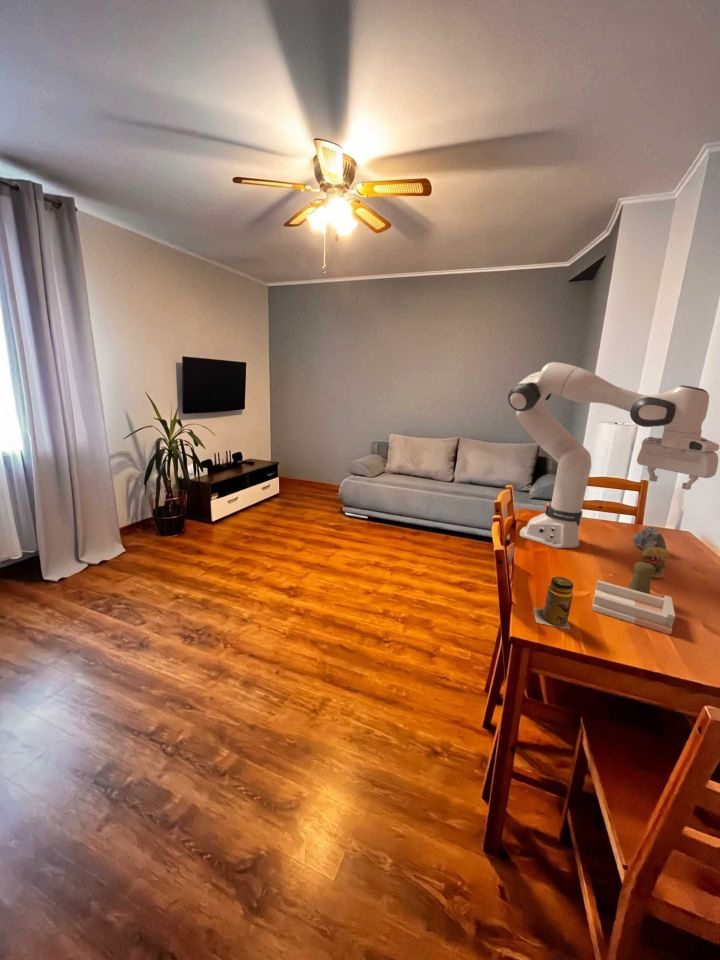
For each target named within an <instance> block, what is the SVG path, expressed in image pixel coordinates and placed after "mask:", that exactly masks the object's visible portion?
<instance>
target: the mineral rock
mask: <svg viewBox="0 0 720 960" xmlns="http://www.w3.org/2000/svg"><path fill="white" fill-rule="evenodd" d="M631 540H632V542H633V543H634V544H635V545H636V546H637V547H639V548H640V549H642V551H643V550H644V549H646V548H649V547H660V548H663V549H665V550H667V546H666V541H665V537H664V536H663V535H662V533H661V532H660V531H659V529H658V528H657V527H656V526H648V527H644V529H642V530H640V531H639V532H637V533H636V534H634V535H633V536H632V539H631ZM653 541H655V542H658V543H656V544H654V542H653Z"/></svg>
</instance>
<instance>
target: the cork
mask: <svg viewBox="0 0 720 960" xmlns="http://www.w3.org/2000/svg"><path fill="white" fill-rule="evenodd" d="M633 570H634V573H633V575H632V577H631V580H630V582H629V584H628V586H627V588H629V589H632V590H636V591H639V592H643V593H647V594H650V595H651V593H650V591H651V580H652V577H651V576H653V575H654V573H655V568H654V567H653V566H652V565H651V564H648V563H645V562H641V561H638V562H635V563H634V565H633Z"/></svg>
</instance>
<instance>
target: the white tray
mask: <svg viewBox="0 0 720 960" xmlns="http://www.w3.org/2000/svg"><path fill="white" fill-rule="evenodd" d="M592 602H593V603H592V608H591V611H593V612H596V613H599V614H602V615H606V616H609V617H612V618H616V619H618V620H621V619H622V620H621V621H625V622H629V623H631V624H634V625H638V626H641V627H644V628H648V629H651V630H653V631H656V630H657V632H659V631H660V633H662V634H667V635H669V634H670V635H669V636H671V635H672V634H673V633H672V632H673V625H674V622H675V618H676V614H675V613H676V612H675V609H674V604H673V600H672V596H670V595H664V596H663V597H661V596H656V595H654V594H651V593H650V594H647V593H643V592H639V591H636V590H632V589H629V588H628V587H625V586H621V585H616V584H614V583H611V582H606V581H603V580H599V579H597V581H596V585H595V591H594V596H593V601H592Z"/></svg>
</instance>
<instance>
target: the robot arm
mask: <svg viewBox="0 0 720 960" xmlns="http://www.w3.org/2000/svg"><path fill="white" fill-rule="evenodd" d="M552 395H555V396H558V397H560V398H563V399H566V400H568V401H573V402H578V403H585V404H586V403H587V404H588V403H589V404H591V403H592V404H593V403H594V404H595V403H597V404H605V405H609V406H612V407H614V408H618V409H620V410H623V411H627V412H629V415H630V418H631V419H630V420H631V421H632V422H633V423H635V424H636V425H638V426H639V427H643V428H653V427H663V431H662V436H661V437H653V436H648V437H645V438H644V439H643V440H642V442H641V448H640V450H639V452H638V454H637V458H636V463H637V464H638V465H640V466H645V467H647V469H646V470H647V473H648V475H649V478H648V481H649V482H655V483H656V482H658V478H659V476H658V475H656V473H655V471H656V470H657V469H659V470H665V471H669V472H674V473H679V474H682V475H683V474H684V475H688V479H689V480H688V481H687V482H683V483H682V485H681V489H683V490H687V491H689V490H691V488H692V485H693V484H694V483H695V482H696V481H697V480H699V478H701V479H702V478H703V479H707V478H708V479H710V478H712V477H714V476H715V475H716V473H717V470H718V464H719V455H718V453H717V452H718V451H719V449H720V444H718V443H717V442H714V441H713V440H709V439H707V438H705V437H703V436H702V432H703V431H702V426H703V422H704V421H705V419H706V417H707V414H708V409H709V404H710V394H709V393H708V391H707V390H705V389H703V388H700V387H696V386H689V385H678V386H676V387H675V388H672V389H670V390H667V391H665V392H661V393H658V394H653V395H644V394H640V393H637V392H634V391H631V390H629V389H626V388H622V387H619V386H617V385H614V384H613V383H610V382H609V381H607V380H605V379H604V378H602V377H600V376H598V375H597V374H595V373H593V372H591V371H590V370H586V369H585V368H582V367H579V366H576V365H573V364H568V363H563V362H556V361H551V362H548V363H547V364H545V365H544V366H543V367H542V368H541V369H538V370H535V371H534V372H533V373H531V374H529V375H527V376H525V377H524V378H523V379H522V380H521V381H520V382H518V384H516V385H514V386H513V387H512V388H511V389H510V390H509V393H508V395H507V401H508V403H509V406H510V407H511V408H512V409H513V410H515V412H516V413H515V415H516V418H517V420H518V421H519V424H520V425H521V426H522V427H523V429H524V431H525V432H527V434H529V436H530V437H531V438H532V439H533V440H534V441H535V443H537V445H538V446H539V447H540V448H541V449H542V450H543V451H545V452H546V453H547V454H548V455H549V456H551V458H553V459H554V460H555V461H556V462H557V467H556V468H557V469H556V474H555V480H554V487H553V493H552V499H551V503H546V504H545V505H544V511H543V513H541V514H538V515H536V516H533V517H532V518H531V519H530V520H528V522H527V524H526V526H523V527H522V528H521V529H520V531H519V536H520V537H521V538H524V539H527V540H530V541H534V542H537V543H539V544H542V545H545V546H548V547H549V546H550V547H551V548H555V549H563V548H565V549H566V548H568V549H570V548H571V549H573V548H578V547H579V546H580V538H579V533H580V532H579V530H580V524H581V523H582V518H583V504H584V499H585V495H586V490H587V486H588V482H589V477H590V474H591V469H592V456H591V454H590V451H588V449H586V447H585V446H584V445H582V443H581V442H580V441H579V440H578V439H577V438H575V436H573V435H572V434H571V433H570V432H569V431H568V430H567V429H566V428H565V427H564V426H563V425H562V424H561V422H559V421H558V420H557V418H556V417H555V416H554V415H553V414H552V413H551V412H550V411H549V410H548V408H547V407H546V406H545V401H548V400H549V399H550V398H551V396H552Z"/></svg>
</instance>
